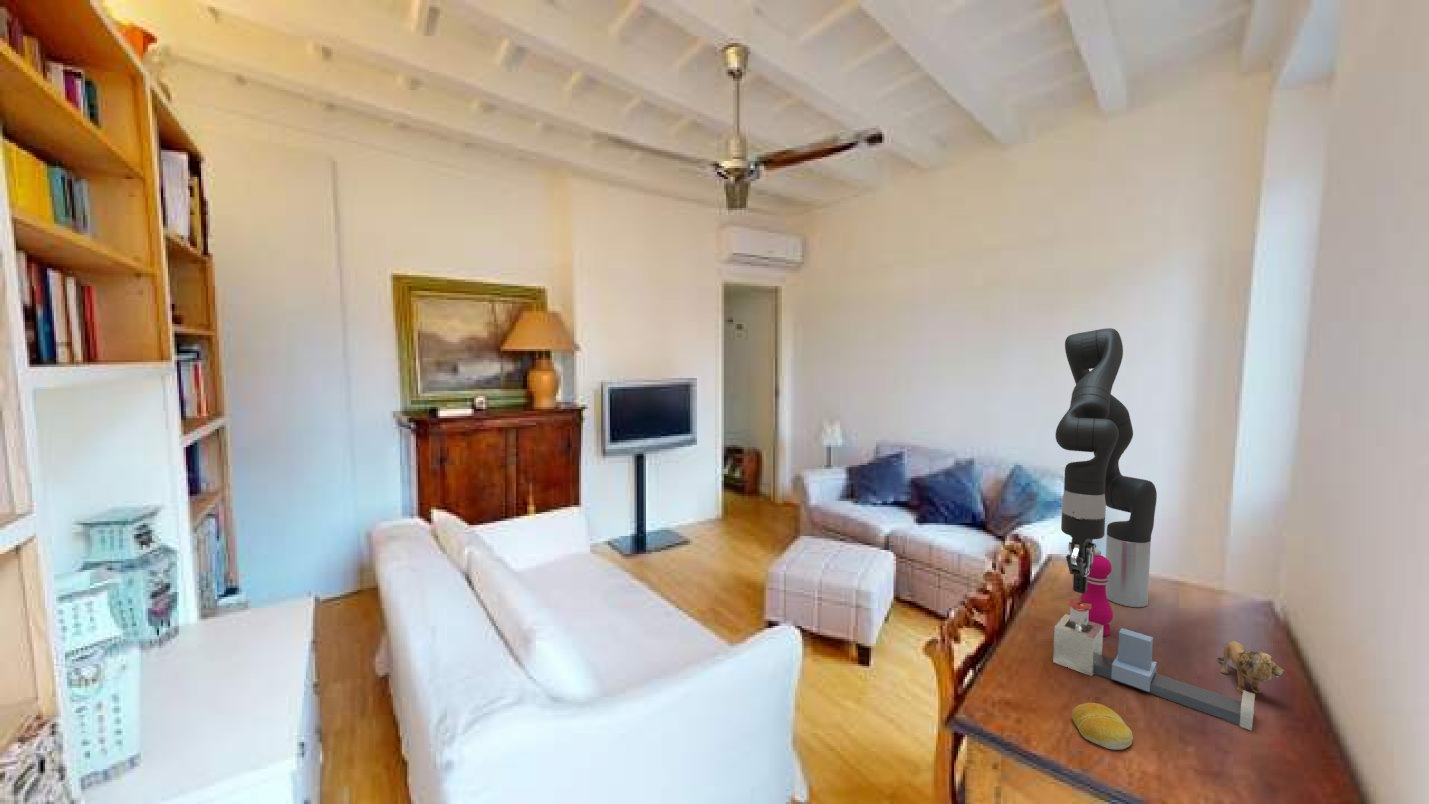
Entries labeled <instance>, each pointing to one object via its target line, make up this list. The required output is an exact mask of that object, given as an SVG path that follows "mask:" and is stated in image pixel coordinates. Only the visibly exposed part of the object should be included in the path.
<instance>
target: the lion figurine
mask: <svg viewBox="0 0 1429 804" xmlns="http://www.w3.org/2000/svg"><path fill="white" fill-rule="evenodd" d="M1272 658H1273V657H1272V656H1271V655H1270V654H1268V653H1266V652H1265V653H1264V652H1262V651H1252V650H1251V651H1246V648H1245V646H1244V645H1243V644H1241V643H1240V642H1237V641H1235V640H1232V641H1228V642H1227V643H1226V644H1225V646H1224V649H1223V657H1217V658H1216V659H1217V660H1218V661H1220V662H1222V666H1221V667H1222V668H1221V669H1220V673H1222V674H1224V675H1228V674H1229V671H1228V666H1229V662H1230V661H1231V662H1232V663H1231V665H1232V666H1231V667H1232V668H1233V669H1234V670H1236V672H1237V673H1236V675H1237V688H1236V690H1237V691H1239V692H1241V693H1243V690H1244V691H1247V690H1246V685H1245V681H1246V679H1248V680H1249V681H1251V685H1250V689H1251V691H1253V692H1254V693H1255V694H1262V690H1261V689H1259V688H1258V686H1259V684H1260V683H1263V682H1264V681H1269V680H1271V679H1272V678H1273V677H1275V678H1279V677H1280V676H1281V675H1282V674H1283V673H1284V672H1285V670H1284V669H1283V668H1281V667H1280V666H1279V665H1277V663H1276V661H1274V660H1272ZM1272 676H1273V677H1272Z"/></svg>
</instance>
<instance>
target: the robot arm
mask: <svg viewBox="0 0 1429 804" xmlns="http://www.w3.org/2000/svg"><path fill="white" fill-rule="evenodd" d="M1064 350H1065V355H1066V358H1067V362H1068V365H1069V368H1070V371H1071V374H1072V376H1073V379H1074V383H1075V386H1074V387H1073V390H1072V392H1071V400H1070V405H1069V408H1068V410H1067V411H1066V413H1064V415H1063V416H1062V417H1061V419H1060V421H1059V422H1058V425H1057V427H1056V430H1055V441H1056V443H1057V445H1058V446H1059V447H1061V448H1062V449H1064V450H1065V451H1071V452H1084V453H1085V452H1086V453H1093V458H1091V459H1089V460H1083V461H1073V462H1068V463H1067V464H1066V465H1065V467H1064V482H1063V483H1064V484H1063V486H1064V487H1063V495H1062V500H1061V525H1060V526H1061V527H1060V529H1061V531H1062V533H1064V534H1065V535H1068V536H1070V537H1071V541H1069V542H1068V549H1067V550H1068V551H1069V554H1066V556H1065V559H1066V562H1067V567H1068V572H1069V574H1070V575H1073V581H1072V584H1073V587H1072V590H1073V592H1076V593H1078V594H1081V595H1082V594H1084V593H1085V592H1086V591H1087V581H1088V575H1089V573H1090V571H1089V569H1090V570H1091V568H1092V563H1093V558H1094V553H1095V549H1097V545H1096V543H1094V541H1093V540H1099V539H1103V538H1104V537H1105V533H1106V542H1105V543H1106V544H1105V545H1106V546H1105V558H1107V559H1108V560H1109V561H1110V563H1111V566H1112V571H1111V573H1110V574H1109V575H1108V578H1109V579H1108V582H1109V583H1108V584H1106V596H1107V599H1108V601H1111V602H1112V603H1114V604H1118V605H1121V606H1125V607H1130V608H1144V607H1147V606H1148V604H1149V602H1148V601H1149V587H1150V586H1149V584H1150V567H1151V566H1150V563H1151V547H1152V546H1151V543H1152V541H1151V540H1152V535H1153V531H1154V530H1153V529H1154V525H1155V523H1154V522H1155V514H1156V505H1157V497H1158V496H1157V494H1158V493H1157V489H1156V486H1155V484H1154V483H1153V481H1151V480H1148V479H1143V478H1137V477H1131V476H1126V475H1122V473H1121V470H1120V465H1119V463H1120V462H1119V461H1120V459H1121V457H1122V456H1123V454H1124V452H1125V451H1126V450H1127V448H1128V447H1129V445H1130V444H1131V442H1132V439H1133V437H1134V429H1133V426H1132V421H1131V416H1130V412H1129V409H1128V408H1127V407H1126V406H1125V405H1124V404H1123V403H1122V402H1121V401H1120V400H1119V399H1118V398H1116V397H1115V396H1114V395H1112V390H1113V386H1114V383H1115V381H1116V379H1117V376H1118V373H1119V370H1120V367H1121V364H1122V361H1123V358H1124V357H1123V356H1124V345H1123V340H1122V338H1121V335H1120V333H1119V331H1118V330H1116V329H1115V328H1109V327H1108V328H1106V327H1105V328H1100V329H1095V330H1088V331H1085V332H1078V333H1073V334H1070V335H1068V336H1067V337H1066V338H1065V341H1064ZM1106 507H1108V508H1110V509H1113V510H1117V511H1121V512H1124V513H1125V512H1126V513H1130V515H1129V519H1128V520H1124V521H1123V520H1119V521H1112V522H1109V523H1108V524H1107V525H1106V511H1107V510H1106ZM1105 529H1106V532H1105Z"/></svg>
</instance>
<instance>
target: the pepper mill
mask: <svg viewBox="0 0 1429 804" xmlns="http://www.w3.org/2000/svg"><path fill="white" fill-rule="evenodd" d="M1089 571H1090V573H1089V575H1088V581H1087V591H1086V592H1085V593H1084V594H1082V593H1081V595H1080V597H1079V599H1083V600H1086V601H1088V602H1090V603H1091V609H1090V610H1089V616H1088V621H1091V622H1094V623H1097V624H1101V625H1103V637H1107V636H1109V634H1110V632H1111V631H1110V630H1111V626H1110V624H1109V623H1111V621H1113V619H1114V613H1113V609H1112V605H1111V604H1110V602H1109V600H1108V599H1107V596H1106V584H1108V583H1109V582H1108V579H1109V578H1108V575H1109V574H1110V573H1111V571H1112V566H1111V563H1110V561H1109V560H1108V559H1107V558H1106V556H1103V555H1102V551H1101V549H1099V548H1095V553H1094V558H1093V563H1092V568H1091V570H1090V569H1089Z"/></svg>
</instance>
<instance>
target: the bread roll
mask: <svg viewBox="0 0 1429 804" xmlns="http://www.w3.org/2000/svg"><path fill="white" fill-rule="evenodd" d="M1071 719H1072V721H1073V723H1074V725H1075V726H1076V728H1077V729H1078V731H1079V733H1080V734H1081V736H1082V737H1083V738H1084V739H1085V740H1087V741H1089V742H1091V743H1093V744H1095V745H1098V746H1100V747H1103V748H1105V749H1109V750H1114V751H1116V750H1117V751H1120V750H1125V749H1127V748H1129V747H1130V746H1131V745H1132V743H1133V741H1134V740H1133V737H1134V736H1133V732H1132V730H1131V728H1130V727H1129V726H1128V725H1126V722H1125V721H1124V720H1123V718H1122V717H1121V716H1120V715H1119V714H1118V713H1116V711H1115V710H1114V709H1112V708H1110V707H1107V706H1105V705H1104V704H1101V703H1096V702H1085V703H1081V704H1078V705H1077V706H1075V707H1074V708H1073V709H1072V710H1071Z"/></svg>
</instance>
